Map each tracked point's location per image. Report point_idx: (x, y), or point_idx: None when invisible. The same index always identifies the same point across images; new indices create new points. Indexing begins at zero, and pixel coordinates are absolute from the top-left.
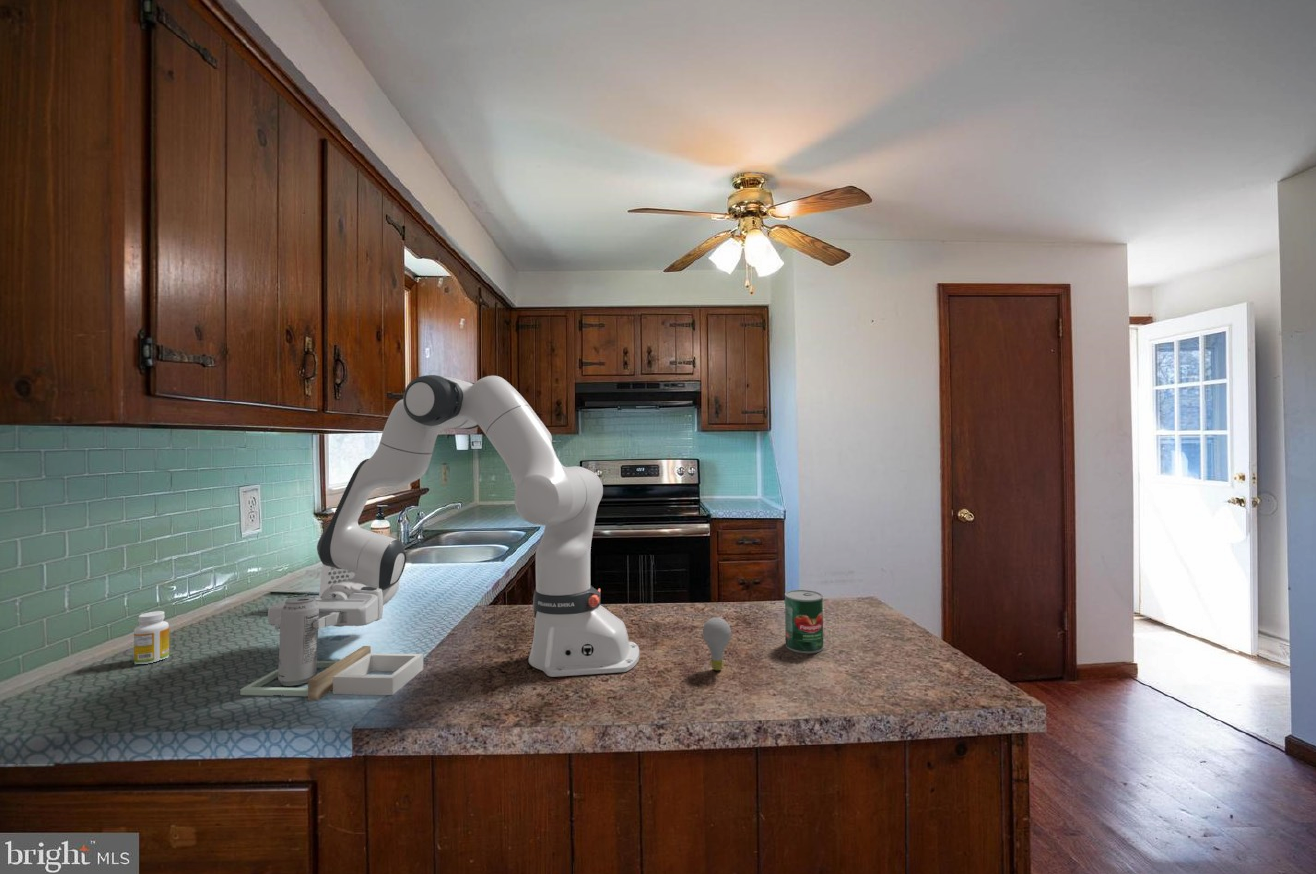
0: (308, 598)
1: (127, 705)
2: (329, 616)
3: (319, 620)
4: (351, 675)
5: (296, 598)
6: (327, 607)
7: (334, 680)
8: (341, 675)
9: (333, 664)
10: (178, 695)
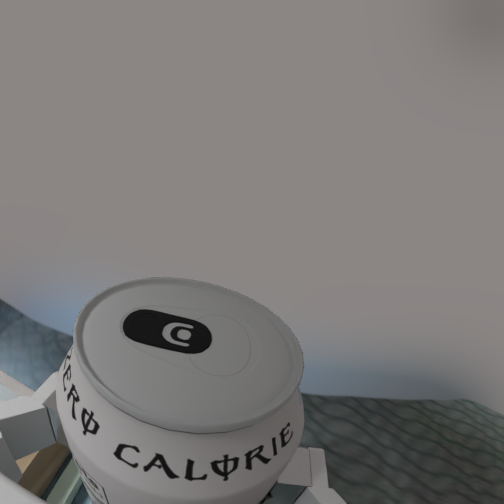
0: (135, 352)
1: (446, 452)
2: (8, 400)
3: (56, 371)
4: (1, 380)
5: (262, 386)
6: (11, 495)
7: None
8: (20, 391)
9: (38, 451)
10: (413, 486)
